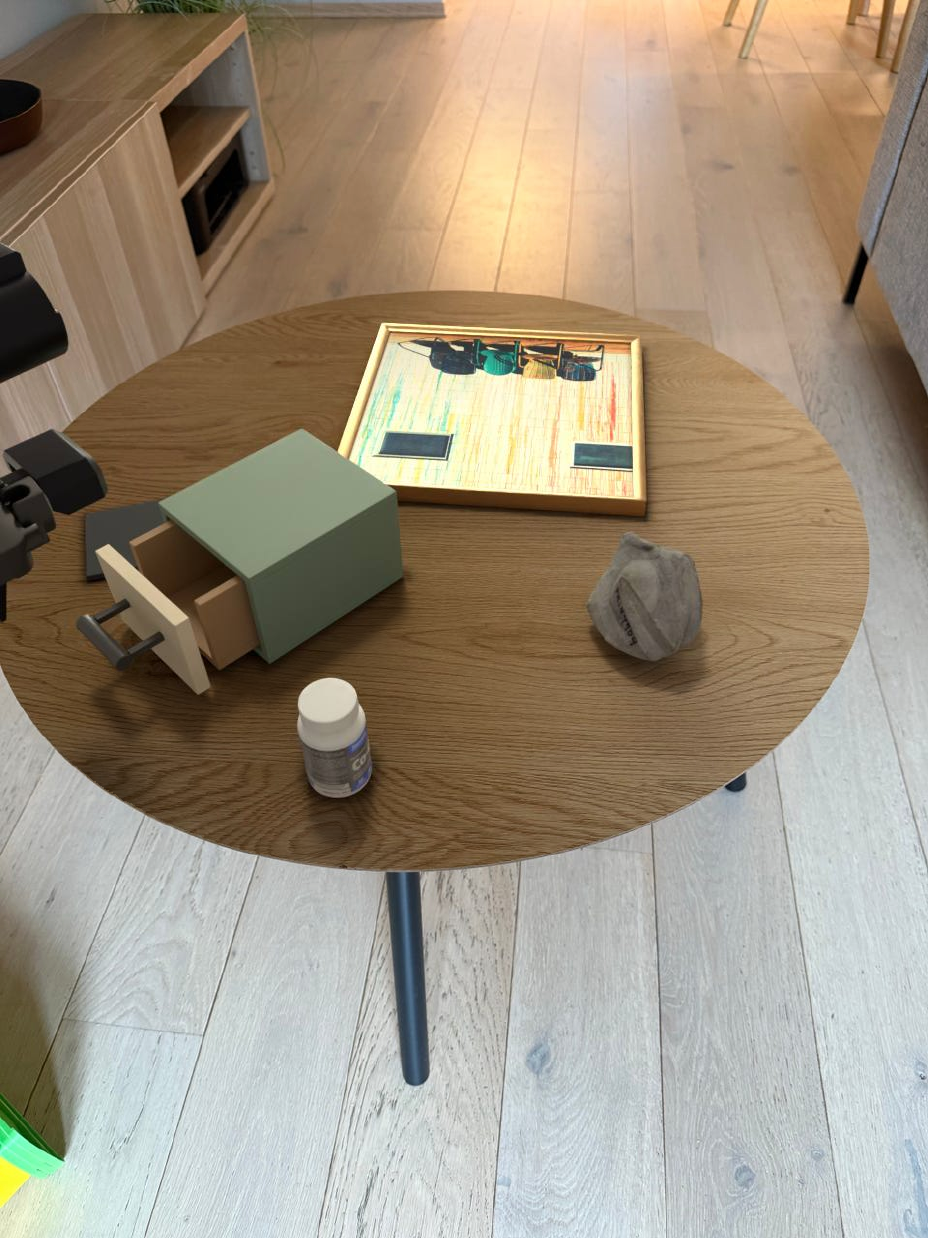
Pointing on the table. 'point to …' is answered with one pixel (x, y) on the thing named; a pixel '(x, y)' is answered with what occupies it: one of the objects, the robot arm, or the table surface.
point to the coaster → (118, 532)
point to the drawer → (174, 606)
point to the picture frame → (503, 418)
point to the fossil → (647, 599)
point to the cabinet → (296, 535)
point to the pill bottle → (334, 738)
